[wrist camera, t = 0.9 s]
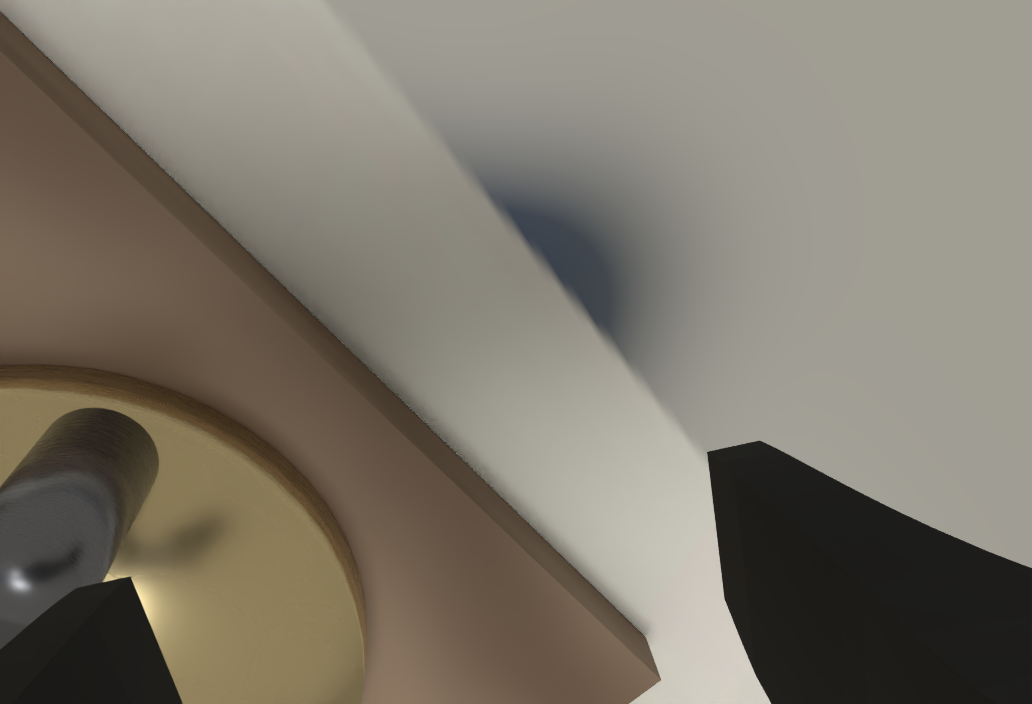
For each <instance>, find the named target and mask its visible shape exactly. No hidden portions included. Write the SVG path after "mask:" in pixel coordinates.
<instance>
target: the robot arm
mask: <svg viewBox="0 0 1032 704" xmlns="http://www.w3.org/2000/svg"><path fill="white" fill-rule="evenodd" d="M707 454H708V462H709V471H710V479H711V488H712V496H713V505H714V513H715V522H716V530H717V539H718V547H719V555H720V564H721V572H722V581H723V589H724V598H725V601H726V604H727V606H728V609H729V611H730V614H731V616H732V619H733V621H734V624H735V626H736V629H737V631H738V634H739V636H740V639H741V641H742V644H743V646H744V648H745V651H746V653H747V655H748V658H749V660H750V663H751V665H752V667H753V670H754V672H755V674H756V676H757V678H758V680H759V682H760V684H761V686H762V687H763V689H764V691H765V693H766V695H767V696H768V698H769V700H770V702H771V704H1032V568H1030V567H1027V566H1024V565H1021V564H1019V563H1016V562H1014V561H1011V560H1008V559H1006V558H1003V557H1001V556H998V555H995V554H993V553H990V552H988V551H986V550H983V549H981V548H979V547H976V546H974V545H972V544H969V543H967V542H965V541H962V540H960V539H958V538H955V537H953V536H951V535H948V534H946V533H944V532H941V531H939V530H937V529H934V528H932V527H930V526H928V525H926V524H923V523H921V522H919V521H917V520H915V519H913V518H911V517H908V516H906V515H904V514H902V513H900V512H898V511H896V510H894V509H892V508H889V507H888V506H886V505H884V504H882V503H880V502H878V501H875V500H874V499H871V498H870V497H868V496H865V495H864V494H862V493H860V492H858V491H856V490H854V489H852V488H850V487H848V486H846V485H844V484H842V483H840V482H839V481H837V480H835V479H833V478H831V477H829V476H827V475H825V474H824V473H822V472H820V471H818V470H816V469H814V468H812V467H810V466H808V465H807V464H805V463H803V462H801V461H799V460H797V459H795V458H793V457H792V456H790V455H788V454H786V453H784V452H782V451H780V450H778V449H776V448H774V447H772V446H770V445H768V444H766V443H764V442H762V441H756V442H751V443H746V444H742V445H737V446H732V447H728V448H723V449H719V450H714V451H709V452H707ZM0 704H183V703H182V700H181V698H180V695H179V693H178V690H177V688H176V686H175V683H174V681H173V678H172V676H171V673H170V671H169V669H168V666H167V664H166V661H165V659H164V656H163V654H162V652H161V649H160V647H159V644H158V642H157V639H156V637H155V635H154V632H153V630H152V627H151V625H150V622H149V620H148V618H147V615H146V613H145V610H144V608H143V605H142V603H141V601H140V598H139V596H138V593H137V591H136V588H135V586H134V584H133V581H132V579H131V576H129V577H125V578H120V579H115V580H111V581H106V582H101V583H97V584H92V585H88V586H83V587H78V588H76V589H74V590H73V591H71V592H70V593H69V594H67V595H66V596H64V597H63V598H61V599H60V600H59V601H58V602H56V603H55V604H54V605H52V606H51V607H50V608H49V609H47V610H46V611H45V612H44V613H42V614H41V615H40V616H39V617H38V618H36V619H35V620H34V621H33V622H32V623H30V624H29V625H28V626H27V627H26V628H25V629H23V630H22V631H21V632H20V633H19V634H18V635H16V636H15V637H14V638H13V639H12V640H11V641H10V642H8V643H7V644H6V645H5V646H4V647H3V648H1V649H0Z"/></svg>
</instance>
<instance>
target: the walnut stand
mask: <svg viewBox="0 0 1032 704" xmlns="http://www.w3.org/2000/svg"><path fill="white" fill-rule="evenodd" d="M34 365H48V366H59V367H70V368H81V369H91V370H96V371H101V372H106V373H111V374H115V375H120V376H125V377H130V378H135V379H138V380H141V381H144V382H147V383H150V384H153V385H156V386H159V387H162V388H165V389H169V390H172V391H175V392H177V393H179V394H182V395H184V396H186V397H188V398H190V399H193V400H195V401H197V402H199V403H201V404H204V405H206V406H208V407H210V408H212V409H215V410H216V411H218V412H220V413H221V414H223V415H225V416H226V417H228V418H230V419H231V420H233V421H235V422H236V423H238V424H240V425H241V426H243V427H245V428H246V429H248V430H250V431H251V432H252V433H254V434H255V435H256V436H257V437H259V438H260V439H261V440H263V441H264V442H265V443H266V444H268V445H269V446H270V447H272V448H273V449H274V450H275V451H277V452H278V453H279V454H281V455H282V456H283V457H284V458H285V459H286V460H287V461H288V462H289V463H290V464H291V465H292V466H293V467H294V468H295V469H296V470H297V471H298V472H299V473H300V474H301V475H302V476H303V477H304V478H305V479H306V480H307V481H308V482H309V484H310V485H311V486H312V488H313V489H314V490H315V492H316V493H317V494H318V495H319V497H320V498H321V499H322V501H323V502H324V503H325V505H326V506H327V507H328V509H329V510H330V511H331V513H332V515H333V517H334V518H335V520H336V522H337V524H338V525H339V527H340V529H341V531H342V533H343V534H344V536H345V538H346V540H347V542H348V544H349V547H350V549H351V552H352V555H353V557H354V560H355V563H356V565H357V568H358V570H359V574H360V579H361V583H362V588H363V593H364V597H365V602H366V619H367V644H366V659H365V674H364V685H363V694H362V703H361V704H629V703H630V702H632V701H633V700H634V699H636V698H637V697H639V696H640V695H641V694H643V693H644V692H645V691H647V690H648V689H649V688H651V687H652V686H654V685H655V684H656V683H658V682H659V681H660V680H661V678H660V676H659V673H658V670H657V667H656V665H655V662H654V659H653V656H652V654H651V651H650V648H649V645H648V642H647V640H646V638H645V637H644V636H643V635H642V634H641V633H640V632H639V631H638V630H637V629H636V628H635V627H634V626H633V625H632V624H631V623H630V622H629V621H628V620H627V619H626V618H625V617H624V616H623V615H622V614H621V613H620V612H619V611H618V610H617V609H616V608H615V607H614V606H612V605H611V604H610V603H609V602H608V601H607V600H606V599H605V598H604V597H603V596H602V595H601V594H600V593H599V592H598V591H597V590H596V589H595V588H594V587H593V586H592V585H591V584H590V583H589V582H588V581H587V580H586V579H585V578H584V577H583V576H582V575H580V574H579V573H578V572H577V571H576V570H575V569H574V568H573V567H572V566H571V565H570V564H569V563H568V562H567V561H566V560H565V559H564V558H563V557H562V556H561V555H560V554H559V553H558V552H557V551H556V550H555V549H554V548H553V547H552V546H551V545H550V544H548V543H547V542H546V541H545V540H544V539H543V538H542V537H541V536H540V535H539V534H538V533H537V532H536V531H535V530H534V529H533V528H532V527H531V526H530V525H529V524H528V523H527V522H526V521H525V520H524V519H523V518H522V517H521V516H520V515H519V514H518V513H517V512H515V511H514V510H513V509H512V508H511V507H510V506H509V505H508V504H507V503H506V502H505V501H504V500H503V499H502V498H501V497H500V496H499V495H498V494H497V493H496V492H495V491H494V490H493V489H492V488H491V487H490V486H489V485H488V484H487V483H486V482H485V481H483V480H482V479H481V478H480V477H479V476H478V475H477V474H476V473H475V472H474V471H473V470H472V469H471V468H470V467H469V466H468V465H467V464H466V463H465V462H464V461H463V460H462V459H461V458H460V457H459V456H458V455H457V454H456V453H455V452H454V451H453V450H452V449H450V448H449V447H448V446H447V445H446V444H445V443H444V442H443V441H442V440H441V439H440V438H439V437H438V436H437V435H436V434H435V433H434V432H433V431H432V430H431V429H430V428H429V427H428V426H427V425H426V424H425V423H424V422H423V421H422V420H421V419H420V418H418V417H417V416H416V415H415V414H414V413H413V412H412V411H411V410H410V409H409V408H408V407H407V406H406V405H405V404H404V403H403V402H402V401H401V400H400V399H399V398H398V397H397V396H396V395H395V394H394V393H393V392H392V391H391V390H390V389H389V388H388V387H387V386H385V385H384V384H383V383H382V382H381V381H380V380H379V379H378V378H377V377H376V376H375V375H374V374H373V373H372V372H371V371H370V370H369V369H368V368H367V367H366V366H365V365H364V364H363V363H362V362H361V361H360V360H359V359H358V358H357V357H356V356H355V355H353V354H352V353H351V352H350V351H349V350H348V349H347V348H346V347H345V346H344V345H343V344H342V343H341V342H340V341H339V340H338V339H337V338H336V337H335V336H334V335H333V334H332V333H331V332H330V331H329V330H328V329H327V328H326V327H325V326H324V325H323V324H321V323H320V322H319V321H318V320H317V319H316V318H315V317H314V316H313V315H312V314H311V313H310V312H309V311H308V310H307V309H306V308H305V307H304V306H303V305H302V304H301V303H300V302H299V301H298V300H297V299H296V298H295V297H294V296H293V295H292V294H291V293H290V292H288V291H287V290H286V289H285V288H284V287H283V286H282V285H281V284H280V283H279V282H278V281H277V280H276V279H275V278H274V277H273V276H272V275H271V274H270V273H269V272H268V271H267V270H266V269H265V268H264V267H263V266H262V265H261V264H260V263H259V262H258V261H256V260H255V259H254V258H253V257H252V256H251V255H250V254H249V253H248V252H247V251H246V250H245V249H244V248H243V247H242V246H241V245H240V244H239V243H238V242H237V241H236V240H235V239H234V238H233V237H232V236H231V235H230V234H229V233H228V232H227V231H226V230H225V229H223V228H222V227H221V226H220V225H219V224H218V223H217V222H216V221H215V220H214V219H213V218H212V217H211V216H210V215H209V214H208V213H207V212H206V211H205V210H204V209H203V208H202V207H201V206H200V205H199V204H198V203H197V202H196V201H195V200H194V199H193V198H191V197H190V196H189V195H188V194H187V193H186V192H185V191H184V190H183V189H182V188H181V187H180V186H179V185H178V184H177V183H176V182H175V181H174V180H173V179H172V178H171V177H170V176H169V175H168V174H167V173H166V172H165V171H164V170H163V169H162V168H161V167H160V166H158V165H157V164H156V163H155V162H154V161H153V160H152V159H151V158H150V157H149V156H148V155H147V154H146V153H145V152H144V151H143V150H142V149H141V148H140V147H139V146H138V145H137V144H136V143H135V142H134V141H133V140H132V139H131V138H130V137H129V136H128V135H126V134H125V133H124V132H123V131H122V130H121V129H120V128H119V127H118V126H117V125H116V124H115V123H114V122H113V121H112V120H111V119H110V118H109V117H108V116H107V115H106V114H105V113H104V112H103V111H102V110H101V109H100V108H99V107H98V106H97V105H96V104H94V103H93V102H92V101H91V100H90V99H89V98H88V97H87V96H86V95H85V94H84V93H83V92H82V91H81V90H80V89H79V88H78V87H77V86H76V85H75V84H74V83H73V82H72V81H71V80H70V79H69V78H68V77H67V76H66V75H65V74H64V73H63V72H61V71H60V70H59V69H58V68H57V67H56V66H55V65H54V64H53V63H52V62H51V61H50V60H49V59H48V58H47V57H46V56H45V55H44V54H43V53H42V52H41V51H40V50H39V49H38V48H37V47H36V46H35V45H34V44H33V43H32V42H31V41H29V40H28V39H27V38H26V37H25V36H24V35H23V34H22V33H21V32H20V31H19V30H18V29H17V28H16V27H15V26H14V25H13V24H12V23H11V22H10V21H9V20H8V19H7V18H6V17H5V16H4V15H3V14H2V13H1V12H0V366H34Z"/></svg>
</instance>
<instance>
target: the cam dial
mask: <svg viewBox="0 0 1032 704" xmlns="http://www.w3.org/2000/svg"><path fill="white" fill-rule="evenodd" d="M129 576H131V579H132V581H133V584H134V586H135V588H136V591H137V593H138V596H139V598H140V601H141V603H142V605H143V608H144V610H145V613H146V615H147V618H148V620H149V622H150V625H151V627H152V630H153V632H154V635H155V637H156V639H157V642H158V644H159V647H160V649H161V652H162V654H163V656H164V659H165V661H166V664H167V666H168V669H169V671H170V673H171V676H172V678H173V681H174V683H175V686H176V688H177V690H178V693H179V695H180V698H181V700H182V703H183V704H361V703H362V694H363V685H364V674H365V659H366V644H367V619H366V602H365V597H364V593H363V588H362V583H361V579H360V574H359V570H358V568H357V565H356V563H355V560H354V557H353V555H352V552H351V549H350V547H349V544H348V542H347V540H346V538H345V536H344V534H343V533H342V531H341V529H340V527H339V525H338V524H337V522H336V520H335V518H334V517H333V515H332V513H331V511H330V510H329V509H328V507H327V506H326V505H325V503H324V502H323V501H322V499H321V498H320V497H319V495H318V494H317V493H316V492H315V490H314V489H313V488H312V486H311V485H310V484H309V482H308V481H307V480H306V479H305V478H304V477H303V476H302V475H301V474H300V473H299V472H298V471H297V470H296V469H295V468H294V467H293V466H292V465H291V464H290V463H289V462H288V461H287V460H286V459H285V458H284V457H283V456H282V455H281V454H279V453H278V452H277V451H275V450H274V449H273V448H272V447H270V446H269V445H268V444H266V443H265V442H264V441H263V440H261V439H260V438H259V437H257V436H256V435H255V434H254V433H252V432H251V431H250V430H248V429H246V428H245V427H243V426H241V425H240V424H238V423H236V422H235V421H233V420H231V419H230V418H228V417H226V416H225V415H223V414H221V413H220V412H218V411H216V410H215V409H212V408H210V407H208V406H206V405H204V404H201V403H199V402H197V401H195V400H193V399H190V398H188V397H186V396H184V395H182V394H179V393H177V392H175V391H172V390H169V389H165V388H162V387H159V386H156V385H153V384H150V383H147V382H144V381H141V380H138V379H135V378H130V377H125V376H120V375H115V374H111V373H106V372H101V371H96V370H91V369H81V368H70V367H59V366H48V365H34V366H0V649H1V648H3V647H4V646H5V645H6V644H7V643H8V642H10V641H11V640H12V639H13V638H14V637H15V636H16V635H18V634H19V633H20V632H21V631H22V630H23V629H25V628H26V627H27V626H28V625H29V624H30V623H32V622H33V621H34V620H35V619H36V618H38V617H39V616H40V615H41V614H42V613H44V612H45V611H46V610H47V609H49V608H50V607H51V606H52V605H54V604H55V603H56V602H58V601H59V600H60V599H61V598H63V597H64V596H66V595H67V594H69V593H70V592H71V591H73V590H74V589H76V588H78V587H83V586H88V585H92V584H97V583H101V582H106V581H111V580H115V579H120V578H125V577H129Z"/></svg>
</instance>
